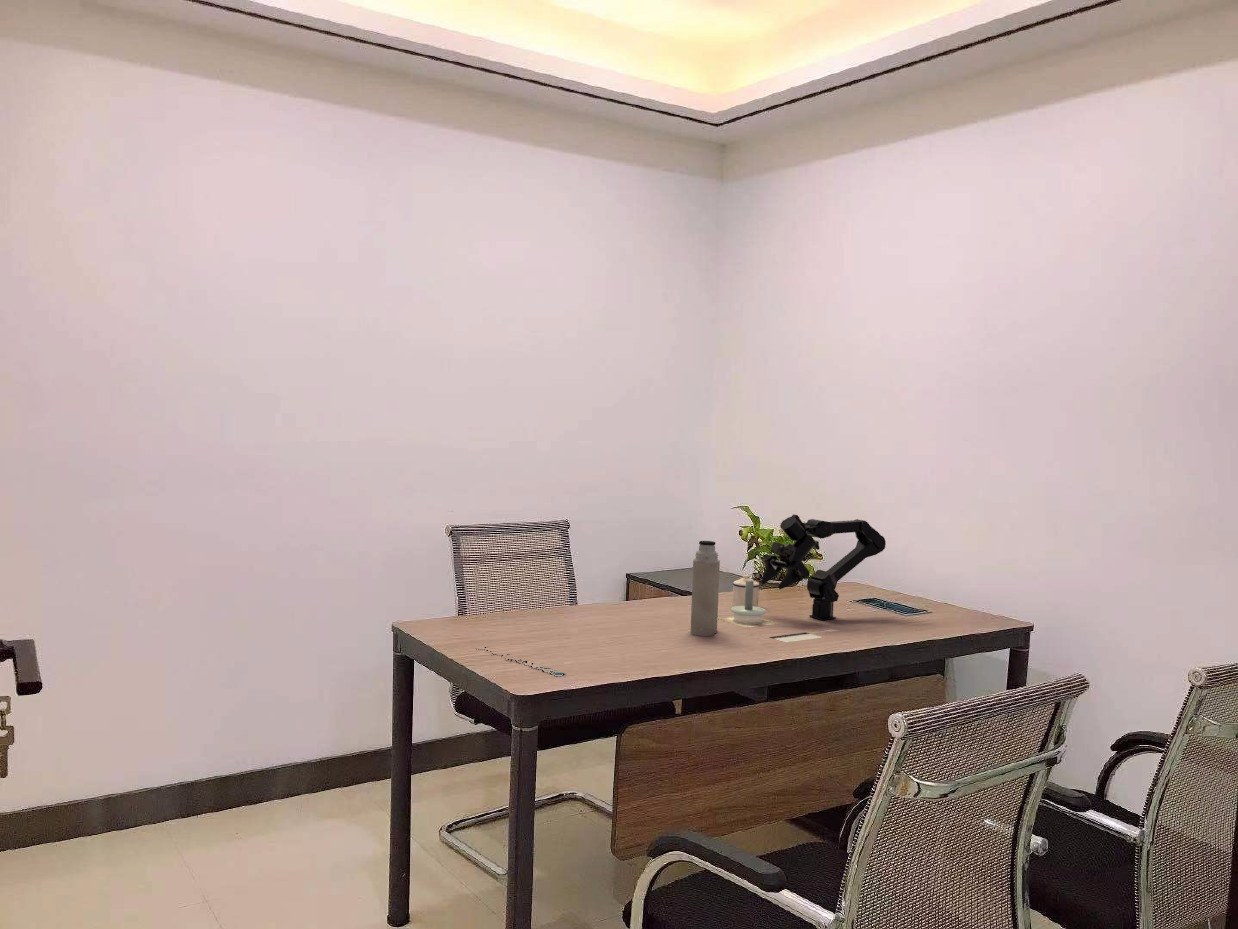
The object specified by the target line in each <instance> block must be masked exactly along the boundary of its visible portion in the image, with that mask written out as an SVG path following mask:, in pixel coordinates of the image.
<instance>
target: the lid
mask: <svg viewBox="0 0 1238 929" xmlns="http://www.w3.org/2000/svg"><path fill="white" fill-rule="evenodd" d="M754 581H755V580H754ZM754 581H751V580H746V586H745V606H734V607H733V606H732V607H730V611H731V613H733V614H734V613H736V614H742V615H765V614H766V613H767V609H765V607H764V608H763V607H760V606H758V607H755V606H753V585H754Z"/></svg>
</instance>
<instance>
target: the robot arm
mask: <svg viewBox="0 0 1238 929" xmlns="http://www.w3.org/2000/svg"><path fill="white" fill-rule="evenodd" d="M779 526H780V529H781V530H782V532H783V533H784V534H785V535H786V536H787V538H788V539H789V540H790V541H794V542H793V543H792V544H791V543H788V542H786V543H785V544H784V543H781V542H777V541H772V544H771V547H770V550H769V551H770V552H771V553H774V554H776V555H777V556H776V555H774V554H769V553H768V554H765V555H764V557H763V558H762V561H763V564H764V566H765V568H764V571H763V572H764V573H763V575H762V577H761V580H760V583H761V585H765V584H766V583H768V582H769V581H771V580H772V579H773V578H775V577H776V576H778V575H779V572H781V571H782V570H783V569H785V570H786V574H785V575H784V577H783V578H782V580H781V581H780V583H779V584H778V586H777V588H778V590H782V589H785V588H787V587H789V586H791V585H793V584H796V583H798V582H800V581H807V582H806V584H807V585H806V588H807V591H808V594H809V598H812V599H813V600H812V601H813V602H812V610H811V612H812V613H811V614H809V618H813V619H818V620H820V619H821V621H827V619H828V620H835V619H837V616H834V603H835V602H838V601H839V600H838V599H839V597H840V595H839V593H838V592H837V591H836V588H837V584H838V582H839V581H840V580H841V579H843V578H844V577H845V576H846V575H847V574H848V573H849V572H851V571H852V570H853V569H854V568H856V567H857V566H858V565H859V564H860V563H862V562H863V561H865V559H867V558H870V557H873V556H877V555H878V554H880V553H882V552H883V551H884V550H885V548H886V544H887V543H886V538H885V537H884V536H883V535H881V533H879V531H877V530H876V529H875V528H874V527H872V526H871V525H870V524H869V522H868V521H867V520H862V519H858V518H857V519H856V518H855V519H853V520H851V519H850V520H838V521H835V520H834V521H825V520H821V519H815V518H810V519H808V520H807V521H806V522H803V521H802V520H801V518H800V516H799V515H798V514H792V515H791V516H789V517H786V518H785V519H783V520H782V521H781V522H780V525H779ZM847 533H854V534H855V538H856V539H857V541H856V545H855V548H853V549H852V550H851V551H850V552H848V553H847V554H846V555H845V556H843V557H842V558H841V559H840V560H838V561H837V562H836V563H835V564H833V565H832V566H831V567H830V568H828V570H822V569H817V570H816V571H815V572H814V573H813V574H811V573H810V570H809V569H808V567H807V566H806V565H805V564H804V562H806V561H807V558H806V557H807V556H808V554H809V553H810V552H811V551H812V550H813V549H814V550H817V551H819V550H820V542H819V540H815V539H814V538H817V539H825V538H829V537H832V536H833V535H835V534H847ZM810 574H811V575H810Z"/></svg>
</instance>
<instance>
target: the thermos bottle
mask: <svg viewBox="0 0 1238 929" xmlns="http://www.w3.org/2000/svg"><path fill="white" fill-rule="evenodd" d="M698 544H699V546H698V550H697V551H696V552H695V555H694V556H695V558H693V562H692V580H691V582H692V587H691V614H690V633H691V635H694V634H695V635H694V636H699V637H712V636H714V635H716V634H717V632H718V619H719V618H718V613H719V612H718V611H719V592H720V590H719V587H720V567H721V564H720V563H721V562H720V561H721V560H719V559H718V556H719V554H718V552H717V551H716V541H712V540H700V541H698Z"/></svg>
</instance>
